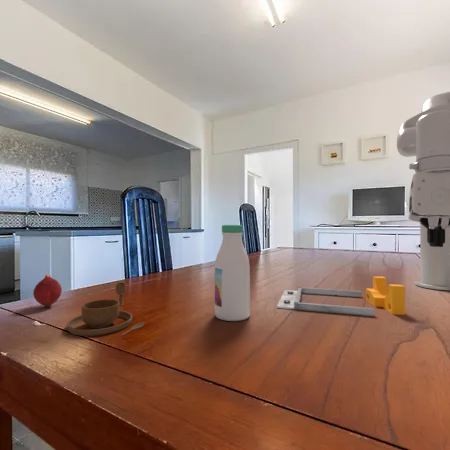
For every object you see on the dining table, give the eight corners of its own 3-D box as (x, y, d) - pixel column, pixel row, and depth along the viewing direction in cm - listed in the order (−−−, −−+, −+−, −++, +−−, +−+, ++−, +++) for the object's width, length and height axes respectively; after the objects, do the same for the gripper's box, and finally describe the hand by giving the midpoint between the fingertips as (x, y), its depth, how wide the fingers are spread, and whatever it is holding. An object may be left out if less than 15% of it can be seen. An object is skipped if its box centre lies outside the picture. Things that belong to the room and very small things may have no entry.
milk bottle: (253, 312, 64) (253, 224, 64) (244, 323, 56) (244, 224, 56) (221, 309, 66) (221, 224, 66) (209, 319, 59) (209, 224, 59)
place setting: (41, 331, 54) (41, 300, 54) (119, 304, 73) (119, 281, 73) (109, 347, 47) (109, 312, 47) (176, 313, 65) (176, 287, 65)
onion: (66, 305, 70) (66, 273, 70) (43, 311, 65) (43, 277, 65) (51, 302, 72) (51, 271, 72) (28, 308, 67) (28, 275, 67)
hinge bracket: (284, 291, 84) (284, 286, 84) (361, 296, 78) (361, 291, 78) (276, 307, 67) (276, 301, 67) (374, 316, 61) (374, 309, 61)
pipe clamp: (366, 300, 75) (365, 276, 75) (383, 301, 74) (383, 276, 74) (383, 314, 63) (383, 285, 63) (405, 315, 62) (404, 286, 62)
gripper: (403, 165, 64) (403, 246, 63) (485, 161, 59) (485, 248, 59) (394, 172, 71) (394, 244, 70) (466, 168, 66) (467, 246, 66)
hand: (436, 246), depth 65 cm, fingers closed
